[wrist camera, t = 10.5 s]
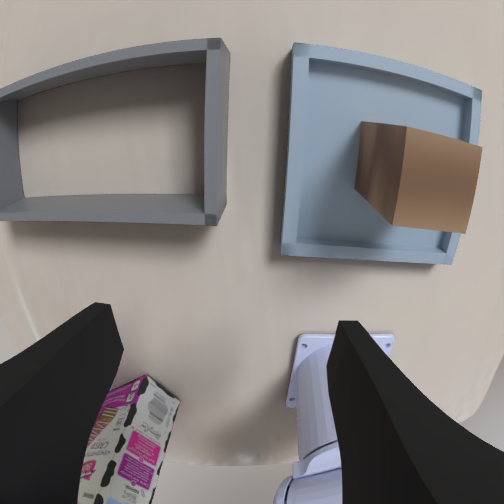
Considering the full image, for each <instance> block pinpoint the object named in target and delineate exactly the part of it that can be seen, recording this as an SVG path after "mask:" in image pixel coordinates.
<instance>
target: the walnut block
mask: <svg viewBox="0 0 504 504" xmlns="http://www.w3.org/2000/svg"><path fill="white" fill-rule="evenodd" d="M481 153H482V147H480V146H477V145H474V144H471V143H467V142H464V141H461V140H458V139H454V138H451V137H447V136H444V135H440V134H436V133H432V132H428V131H424V130H420V129H416V128H412V127H407V126H400V125H393V124H384V123H375V122H365V121H361V130H360V142H359V152H358V162H357V170H356V179H355V187H354V189H355V190H356V191H357V192H358V193H359V194H360V195H361V196H362V197H363V198H364V199H365V200H367V201H368V202H369V203H370V204H371V205H372V206H373V207H374V208H375V209H376V210H377V211H378V212H379V213H380V214H381V215H382V216H383V217H384V218H385V219H386V220H387V221H388V222H389V223H390V224H391V225H392V226H398V227H408V228H418V229H428V230H437V231H446V232H454V233H463V234H465V233H466V229H467V225H468V221H469V217H470V213H471V209H472V204H473V200H474V195H475V190H476V185H477V179H478V173H479V167H480V161H481Z"/></svg>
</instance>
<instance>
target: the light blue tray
mask: <svg viewBox="0 0 504 504" xmlns="http://www.w3.org/2000/svg"><path fill="white" fill-rule="evenodd" d="M481 99H482V90H480V89H478V88H475V87H473V86H471V85H468V84H466V83H463V82H461V81H458V80H456V79H453V78H451V77H448V76H445V75H442V74H440V73H437V72H434V71H431V70H428V69H425V68H421V67H418V66H415V65H412V64H408V63H405V62H401V61H397V60H393V59H390V58H385V57H381V56H377V55H373V54H368V53H363V52H358V51H353V50H347V49H341V48H335V47H328V46H321V45H313V44H304V43H294V44H293V47H292V57H291V82H290V104H289V123H288V141H287V157H286V173H285V188H284V202H283V215H282V228H281V240H280V250H281V255H285V256H303V257H320V258H338V259H356V260H374V261H392V262H411V263H429V264H447V265H452V262H453V258H454V255H455V252H456V249H457V245H458V242H459V238H460V234H461V233H454V232H446V231H437V230H428V229H418V228H408V227H398V226H392V225H391V224H390V223H389V222H388V221H387V220H386V219H385V218H384V217H383V216H382V215H381V214H380V213H379V212H378V211H377V210H376V209H375V208H374V207H373V206H372V205H371V204H370V203H369V202H368V201H367V200H365V199H364V198H363V197H362V196H361V195H360V194H359V193H358V192H357V191H356V190H355V189H354V187H355V179H356V170H357V162H358V152H359V142H360V130H361V121H365V122H375V123H384V124H393V125H400V126H407V127H412V128H416V129H420V130H424V131H428V132H432V133H436V134H440V135H444V136H447V137H451V138H454V139H458V140H461V141H464V142H467V143H471V144H474V145H477V146H478V140H479V130H480V118H481Z"/></svg>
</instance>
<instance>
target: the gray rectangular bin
mask: <svg viewBox="0 0 504 504" xmlns="http://www.w3.org/2000/svg"><path fill="white" fill-rule="evenodd" d="M195 63H206V84H205V123H204V195H191V194H103V195H70V196H49V197H32V198H24V192H23V186H22V178H21V170H20V160H19V149H18V132H17V100H19V99H22V98H25V97H27V96H30V95H33V94H36V93H39V92H42V91H46V90H49V89H52V88H55V87H59V86H62V85H66V84H70V83H73V82H77V81H81V80H86V79H90V78H94V77H99V76H104V75H109V74H114V73H119V72H125V71H131V70H138V69H144V68H152V67H160V66H170V65H181V64H195ZM229 72H230V52H229V50H228V48H227V47H226V45H225V44H224V42H223V41H222V39H221V38H206V39H192V40H181V41H171V42H163V43H156V44H149V45H143V46H137V47H131V48H126V49H121V50H116V51H111V52H107V53H103V54H99V55H95V56H91V57H87V58H83V59H80V60H76V61H73V62H70V63H66V64H63V65H60V66H57V67H54V68H51V69H48V70H45V71H43V72H40V73H37V74H34V75H32V76H29V77H27V78H24V79H22V80H19V81H17V82H15V83H12V84H10V85H8V86H6V87H4V88H1V89H0V221H87V222H130V223H161V224H188V225H211V226H217V224H218V222H219V220H220V218H221V215H222V213H223V211H224V209H225V207H226V185H227V133H228V99H229Z"/></svg>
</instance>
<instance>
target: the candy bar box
mask: <svg viewBox="0 0 504 504" xmlns="http://www.w3.org/2000/svg"><path fill="white" fill-rule="evenodd" d="M179 404H180V400H179V399H178V398H177V397H175V396H174V395H173V394H171V393H170V392H169V391H167V390H166V389H165V388H164V387H163V386H162V385H160V384H159V383H158V382H156V380H154V379H153V378H151V377H150V376H149V375H144V376H142V377H140V378H138V379H136V380H134V381H131V382H129V383H127V384H125V385H123V386H121V387H118V388H116V389H114V390H112V391H109V392H108V394H107V396H106V398H105V401H104V403H103V405H102V407H101V410H100V412H99V414H98V416H97V419H96V421H95V423H94V426H93V429H92V431H91V434H90V437H89V441H88V445H87V449H86V453H85V457H84V461H83V466H82V471H81V477H80V484H79V492H78V503H77V504H151V503H152V499H153V496H154V492H155V489H156V485H157V481H158V477H159V473H160V469H161V466H162V463H163V459H164V456H165V452H166V448H167V445H168V441H169V438H170V434H171V431H172V428H173V424H174V421H175V417H176V414H177V410H178V407H179Z"/></svg>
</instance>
